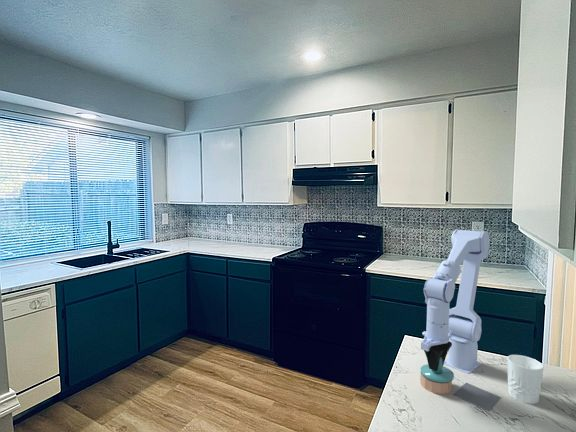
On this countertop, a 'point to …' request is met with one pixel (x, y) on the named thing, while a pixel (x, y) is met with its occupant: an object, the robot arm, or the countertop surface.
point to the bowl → (435, 385)
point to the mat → (477, 396)
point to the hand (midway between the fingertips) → (436, 367)
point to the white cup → (524, 378)
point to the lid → (437, 373)
